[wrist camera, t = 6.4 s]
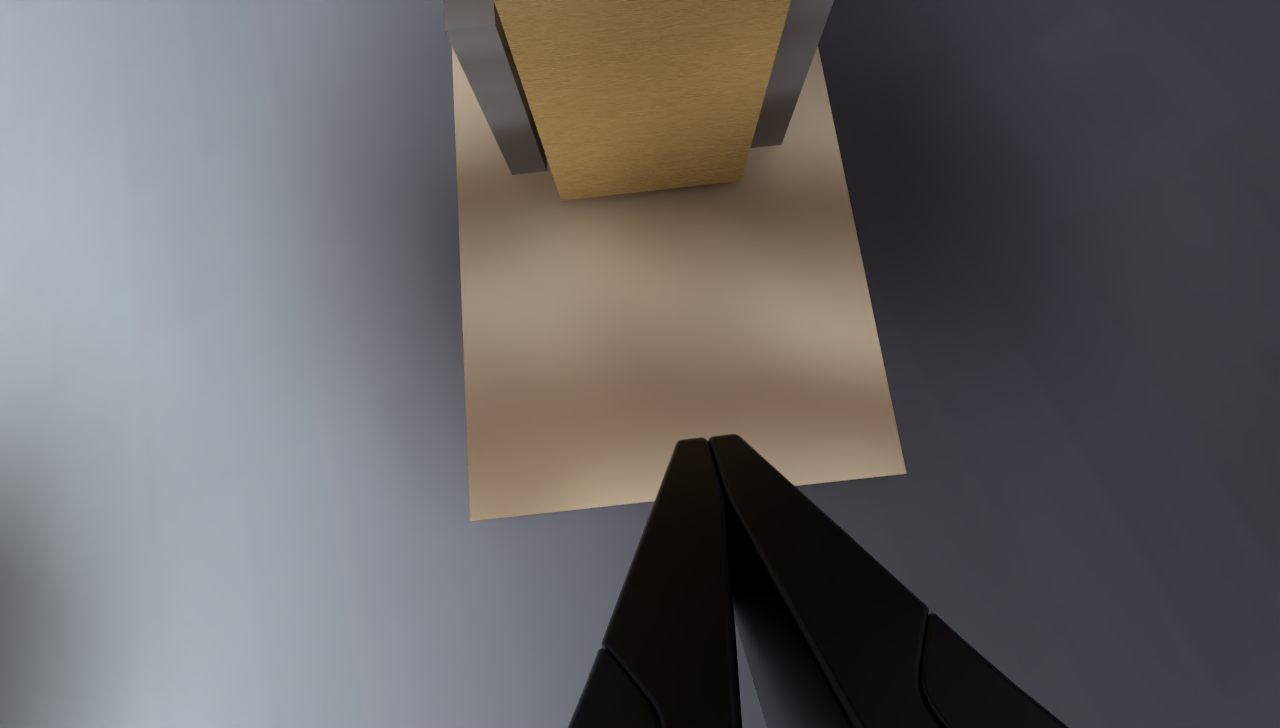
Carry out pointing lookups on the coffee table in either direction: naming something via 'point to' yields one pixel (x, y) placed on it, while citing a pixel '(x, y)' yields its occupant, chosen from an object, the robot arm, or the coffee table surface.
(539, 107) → the latch bar
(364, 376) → the coffee table surface
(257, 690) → the coffee table surface
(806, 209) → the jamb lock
